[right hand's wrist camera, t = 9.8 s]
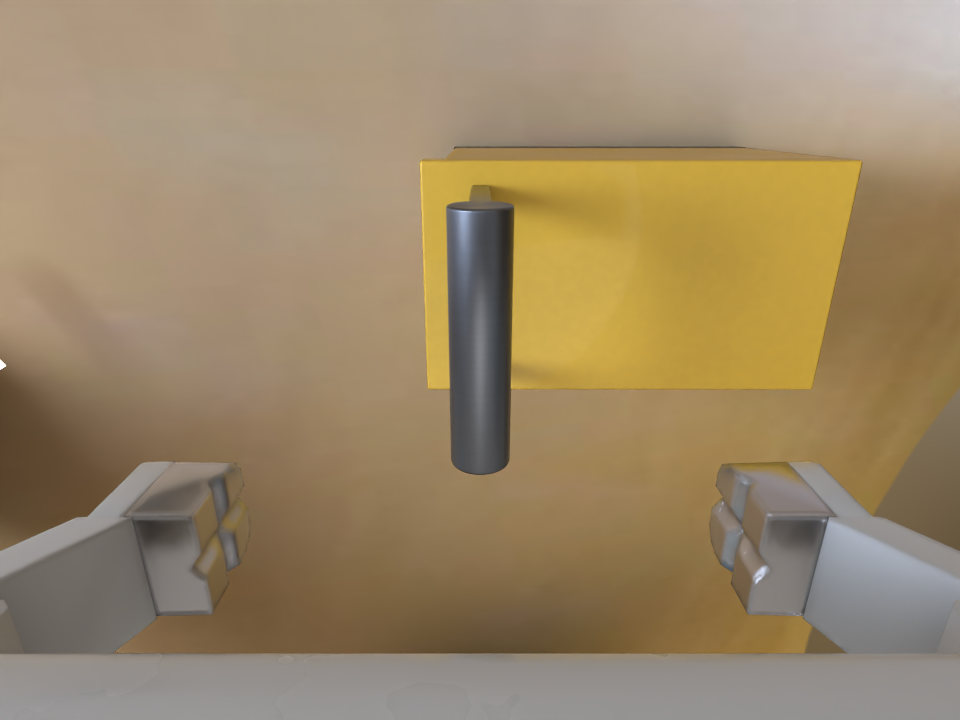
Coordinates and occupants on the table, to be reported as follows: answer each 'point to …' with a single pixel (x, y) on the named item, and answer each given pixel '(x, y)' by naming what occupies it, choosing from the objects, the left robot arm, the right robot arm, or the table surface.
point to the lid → (623, 279)
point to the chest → (622, 153)
